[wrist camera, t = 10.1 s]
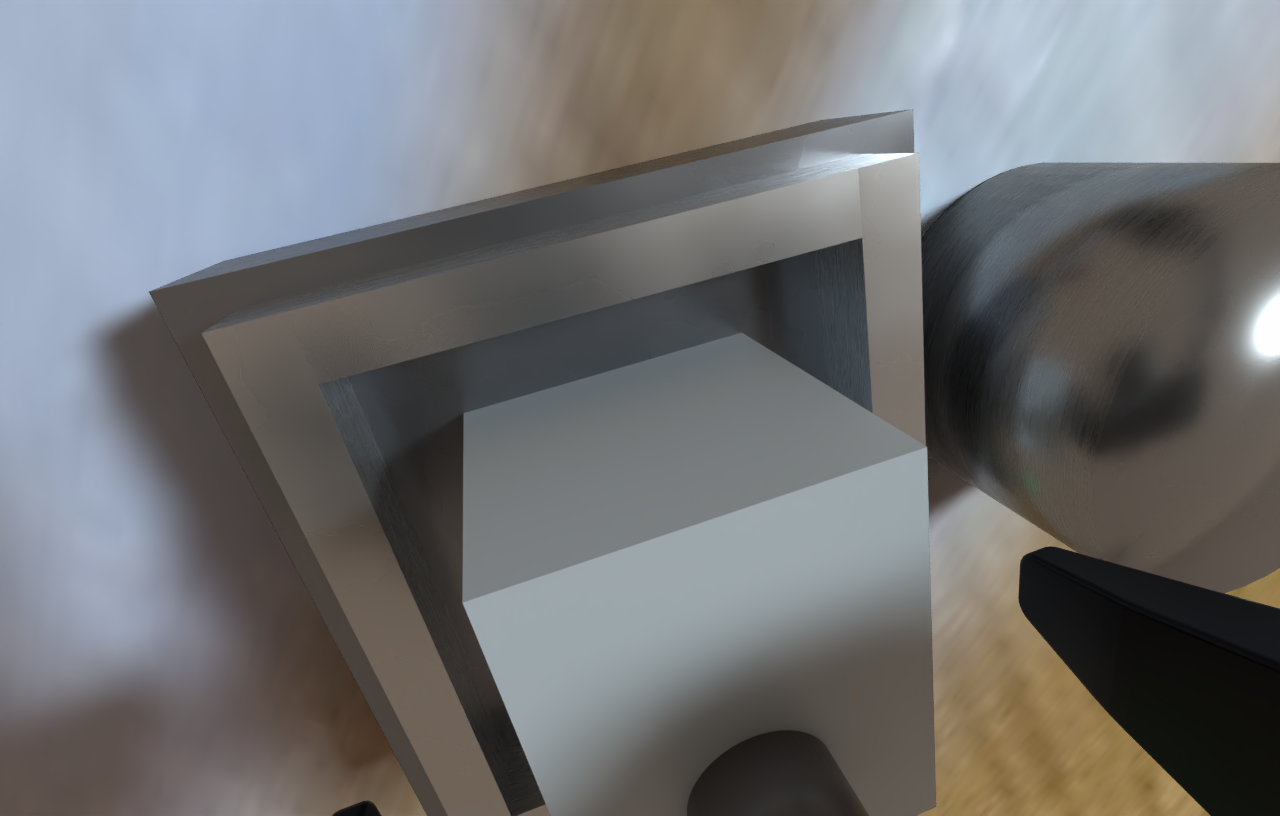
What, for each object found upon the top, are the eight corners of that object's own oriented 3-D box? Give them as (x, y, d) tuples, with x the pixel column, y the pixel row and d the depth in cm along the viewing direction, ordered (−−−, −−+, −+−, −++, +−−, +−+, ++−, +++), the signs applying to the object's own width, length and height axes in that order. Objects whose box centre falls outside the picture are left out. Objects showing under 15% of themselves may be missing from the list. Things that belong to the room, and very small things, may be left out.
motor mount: (1173, 37, 15) (1588, -37, 9) (1119, 477, 20) (1371, 598, 14) (223, 261, 11) (6, 349, 6) (440, 720, 16) (428, 998, 11)
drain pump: (741, 332, 11) (1043, 518, 5) (780, 593, 14) (1018, 918, 8) (463, 412, 10) (462, 732, 5) (556, 674, 13) (633, 1100, 7)
